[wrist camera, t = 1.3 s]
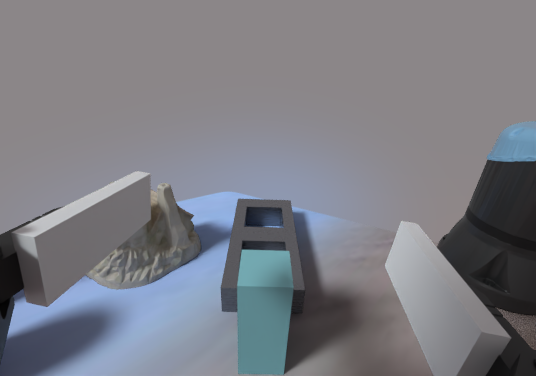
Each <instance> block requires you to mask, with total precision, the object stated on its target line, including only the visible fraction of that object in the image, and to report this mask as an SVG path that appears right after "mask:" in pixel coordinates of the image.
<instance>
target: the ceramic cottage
mask: <svg viewBox="0 0 536 376" xmlns="http://www.w3.org/2000/svg"><path fill="white" fill-rule="evenodd" d="M111 183H114V182H110V184H111ZM193 216H194V215H192V214H190V213H189V212H186V211H185V210H183V209H182V208H180V207H179V206H178V205H177V204H176V201H175V199H174V196H173V192H172V189H171V186H170V185H169V184H167V183H162V184H160V185H159V186H158V188H157V192H155V191H153V190H151V220H150V221H148V222H147V223H146V224H145V225H144V226H143V227H141V228H140V229H139V230H138V231H137V232H135V233H134V234H133V235H132V236H131V237H130V238H128V239H127V240H126V241H125V242H124V243H122V244H121V245H120V246H119V247H118V248H116V249H115V250H114V251H113V252H112V253H111V254H109V255H108V256H107V257H106V258H105V259H103V260H102V261H101V262H100V263H99V264H98V265H96V266H95V267H94V268H93V269H92V270H90V271H89V272H88V273H87V274H86V276H88V277H89V278H91V279H93V280H95V281H96V282H97V283H98V284H100V285H102V286H107V287H108V288H110V289H128V288H136V287H140V286H144V285H147V284H150V283H151V282H155V281H156V280H158V279H159V278H161V277H163V276H164V275H166V274H167V273H169V272H171V271H173V270H175V269H177V268H179V267H180V266H181V265H183V264H185V263H187V262H189V261H190V260H192V259H194V258H195V257H196V256H197V255H198V254H199V252H200V250H201V243H200V240H199V236H198V234H197V233H196V232H195V231H194V228H193V227H194V225H193V223H192V221H190V220H191V219H192V217H193Z"/></svg>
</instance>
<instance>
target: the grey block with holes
mask: <svg viewBox="0 0 536 376" xmlns="http://www.w3.org/2000/svg"><path fill="white" fill-rule="evenodd" d="M247 225H265V226H281V228H273V227H246V226H247ZM242 250H273V251H289V253H290V261H291V270H292V279H293V287H294V288H293V297H292V305H291V313H302V309H303V302H304V295H305V286H304V280H303V274H302V268H301V262H300V256H299V249H298V243H297V237H296V231H295V225H294V219H293V213H292V207H291V201H288V200H287V201H286V200H259V199H238V202H237V208H236V213H235V218H234V223H233V228H232V233H231V238H230V244H229V249H228V254H227V259H226V264H225V269H224V274H223V279H222V285H221V301H222V311H228V312H238V309H237V284H238V276H239V268H240V260H241V252H242Z"/></svg>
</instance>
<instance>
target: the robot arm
mask: <svg viewBox="0 0 536 376" xmlns="http://www.w3.org/2000/svg"><path fill="white" fill-rule="evenodd" d="M487 159H488V160H487V163H486V165H485V168H484V170H483V172H482V175H481V177H480V180H479V182H478V184H477V187H476V189H475V191H474V194H473V196H472V199H471V201H470V203H469V206H468V208H467V211H466V213H465V215H464V216H463V218H462V219H461V220H460V221H459V222H458V223H457V224H456V225H455V226H454V227H453V228H452V229H451V231H450V232H449V233H448V234H446V235H445V236H444V237H443V238H442V239H441V240H440V241H439V244H438V246H437V247H436V246H435V245H434V244H433V242H432V241H431V240H430V239H429V238H428V236H427V235H426V234H425V233H424V231H423V230H422V229H421V228H420V227H419V225H418V224H416V223H411V222H405V221H401V223H400V226H399V229H398V232H397V234H396V237H395V240H394V242H393V245H392V248H391V251H390V253H389V256H388V259H387V262H386V264H385V268H386V270H387V272H388V274H389V277H390V279H391V281H392V283H393V286H394V288H395V290H396V292H397V295H398V297H399V299H400V301H401V304H402V306H403V308H404V310H405V313H406V315H407V317H408V319H409V322H410V324H411V326H412V328H413V331H414V333H415V335H416V337H417V340H418V342H419V344H420V346H421V349H422V351H423V353H424V355H425V358H426V360H427V362H428V364H429V367H430V369H431V371H432V373H433V376H536V350H533V349H531V347H530V346H529V345H528V344H527V343H526V342H525V341H524V339H523V338H522V337H521V336H520V335H519V334H518V332H517V331H516V330H515V329H514V328H513V327H512V326H511V324H510V323H509V322H508V321H507V320H506V319H505V318H503V315H502V314H501V313H500V312H499V311H498V309H496V308H495V307H498V308H501V309H504V310H507V311H511V312H515V313H520V314H527V315H536V121H535V122H533V121H532V122H522V123H517V124H514V125H511V126H509V127H507V128H505V129H504V130H503V131H502V132H501V134H500V135H499V137H498V139H497V141H496V143H495V145H494V147H493V149H492V151H491V153H489V155H488V156H487ZM150 220H151V186H150V174H148V173H144V172H138V171H136V172H134V173H132V174H130V175H128V176H126V177H124V178H122V179H120V180H118V181H116V182H114V183H111V184H109V185H108V186H106V187H103V188H101V189H99V190H97V191H95V192H93V193H91V194H89V195H87V196H85V197H83V198H81V199H79V200H77V201H75V202H73V203H71V204H68V205H66V206H64V207H60V208H56V209H53V210H51V211H49V212H47V213H45V214H43V215H42V216H39V217H36V218H35V219H33V220H32V221H28V222H26V223H24V224H22V225H20V226H18V227H16V228H14V229H11V230H9V231H7V232H5V233H3V234H1V235H0V363H1V359H2V355H3V351H4V346H5V342H6V338H7V334H8V330H9V326H10V321H11V317H12V313H13V309H14V305H15V304H14V299H13V295H15V294H16V293H18V292H19V291H20V290H22V289H23V288H24V293H25V297H26V302H28V303H32V304H36V305H41V306H45V307H48V306H49V305H50V304H51V303H53V302H54V301H55V300H56V299H57V298H59V297H60V296H61V295H62V294H63V293H64V292H66V291H67V290H68V289H69V288H70V287H72V286H73V285H74V284H75V283H76V282H77V281H79V280H80V279H81V278H82V277H83V276H85V275H86V274H87V273H88V272H89V271H90V270H92V269H93V268H94V267H95V266H96V265H98V264H99V263H100V262H101V261H102V260H103V259H105V258H106V257H107V256H108V255H109V254H111V253H112V252H113V251H114V250H115V249H116V248H118V247H119V246H120V245H121V244H122V243H124V242H125V241H126V240H127V239H128V238H130V237H131V236H132V235H133V234H134V233H135V232H137V231H138V230H139V229H140V228H141V227H143V226H144V225H145V224H146V223H147V222H148V221H150Z"/></svg>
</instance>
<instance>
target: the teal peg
mask: <svg viewBox="0 0 536 376" xmlns="http://www.w3.org/2000/svg"><path fill="white" fill-rule="evenodd" d="M293 288H294V287H293V279H292V270H291V261H290V253H289V251H273V250H242V252H241V260H240V268H239V276H238V284H237V309H238V374H284V367H285V358H286V350H287V341H288V332H289V323H290V314H291V305H292V297H293Z"/></svg>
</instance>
